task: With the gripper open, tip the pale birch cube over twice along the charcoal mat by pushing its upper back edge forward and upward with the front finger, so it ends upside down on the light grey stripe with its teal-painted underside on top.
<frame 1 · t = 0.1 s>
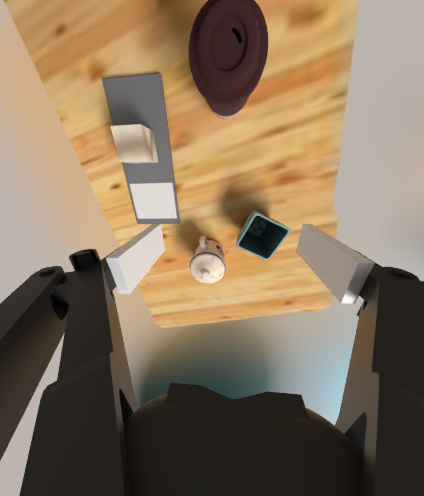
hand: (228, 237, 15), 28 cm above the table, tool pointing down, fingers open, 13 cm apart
charcoal mat: (148, 163, 38), on the table
coffee cup: (227, 97, 32), on the table
birch cube: (144, 148, 36), point 1 cm above the table, touching charcoal mat
flower pot: (255, 225, 43), on the table
teacup with lid: (209, 248, 47), on the table
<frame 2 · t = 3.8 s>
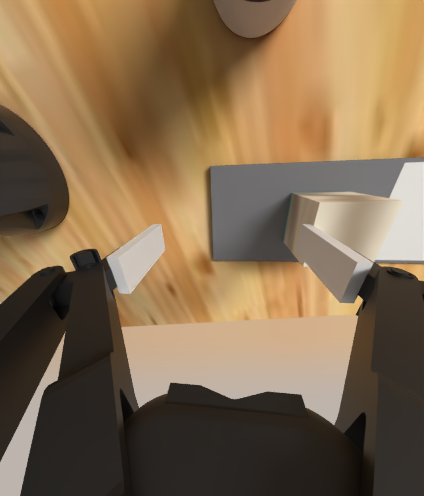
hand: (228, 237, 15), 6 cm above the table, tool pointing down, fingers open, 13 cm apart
charcoal mat: (334, 216, 19), on the table
birch cube: (312, 218, 19), point 1 cm above the table, touching charcoal mat, gripper
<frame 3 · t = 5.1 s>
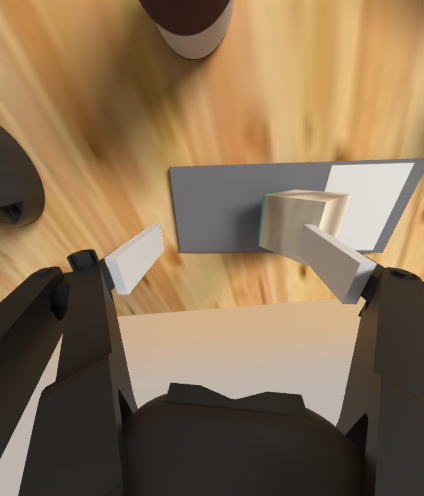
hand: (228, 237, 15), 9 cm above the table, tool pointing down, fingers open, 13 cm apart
charcoal mat: (282, 211, 22), on the table
coffee cup: (193, 7, 14), on the table
birch cube: (275, 217, 20), point 3 cm above the table, tilted 40°, touching charcoal mat, gripper
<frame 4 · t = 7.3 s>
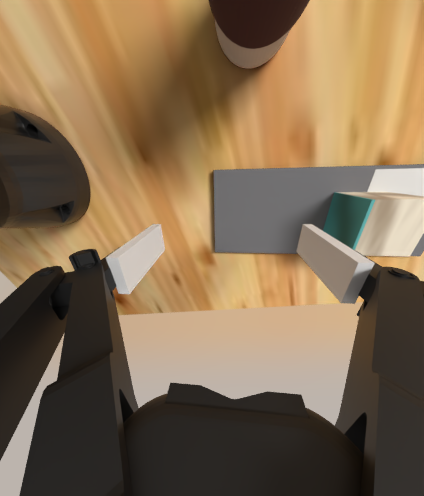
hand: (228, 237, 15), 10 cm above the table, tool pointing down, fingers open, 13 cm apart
charcoal mat: (319, 214, 22), on the table
coffee cup: (252, 20, 15), on the table
birch cube: (341, 221, 19), point 4 cm above the table, tilted 90°, touching charcoal mat
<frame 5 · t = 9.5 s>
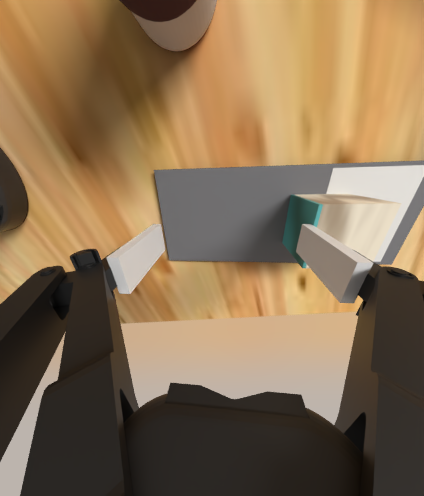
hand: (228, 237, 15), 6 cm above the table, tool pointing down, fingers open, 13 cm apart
charcoal mat: (278, 218, 20), on the table
birch cube: (296, 228, 17), point 4 cm above the table, tilted 91°, touching charcoal mat, gripper
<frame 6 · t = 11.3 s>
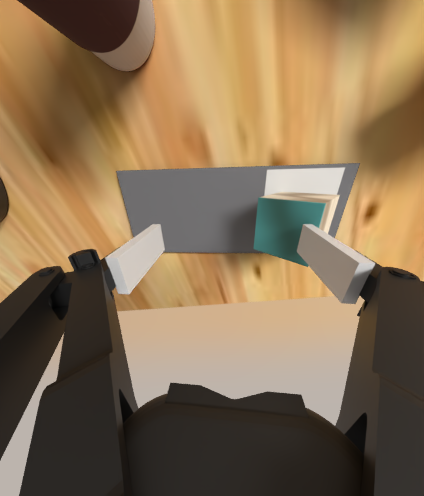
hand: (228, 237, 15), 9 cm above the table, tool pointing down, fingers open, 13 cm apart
charcoal mat: (229, 213, 23), on the table
coffee cup: (122, 24, 16), on the table
birch cube: (282, 230, 16), point 7 cm above the table, tilted 140°, touching charcoal mat, gripper
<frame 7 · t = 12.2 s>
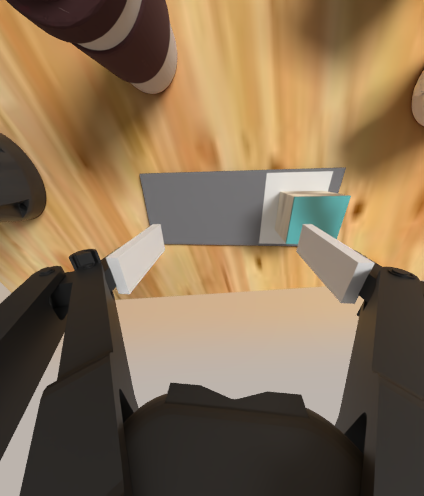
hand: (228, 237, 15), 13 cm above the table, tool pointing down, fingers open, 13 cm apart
charcoal mat: (234, 210, 26), on the table
coffee cup: (150, 58, 20), on the table
birch cube: (315, 221, 19), point 7 cm above the table, tilted 180°, touching charcoal mat
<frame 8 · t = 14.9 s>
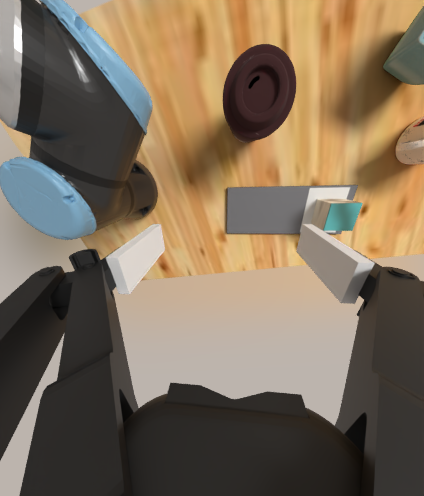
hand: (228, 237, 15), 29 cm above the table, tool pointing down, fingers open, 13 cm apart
charcoal mat: (285, 210, 41), on the table
coffee cup: (247, 122, 34), on the table
birch cube: (342, 217, 34), point 7 cm above the table, tilted 180°, touching charcoal mat
flower pot: (403, 58, 28), on the table
teacup with lid: (409, 143, 33), on the table
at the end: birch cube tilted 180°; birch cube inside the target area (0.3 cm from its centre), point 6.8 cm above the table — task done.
